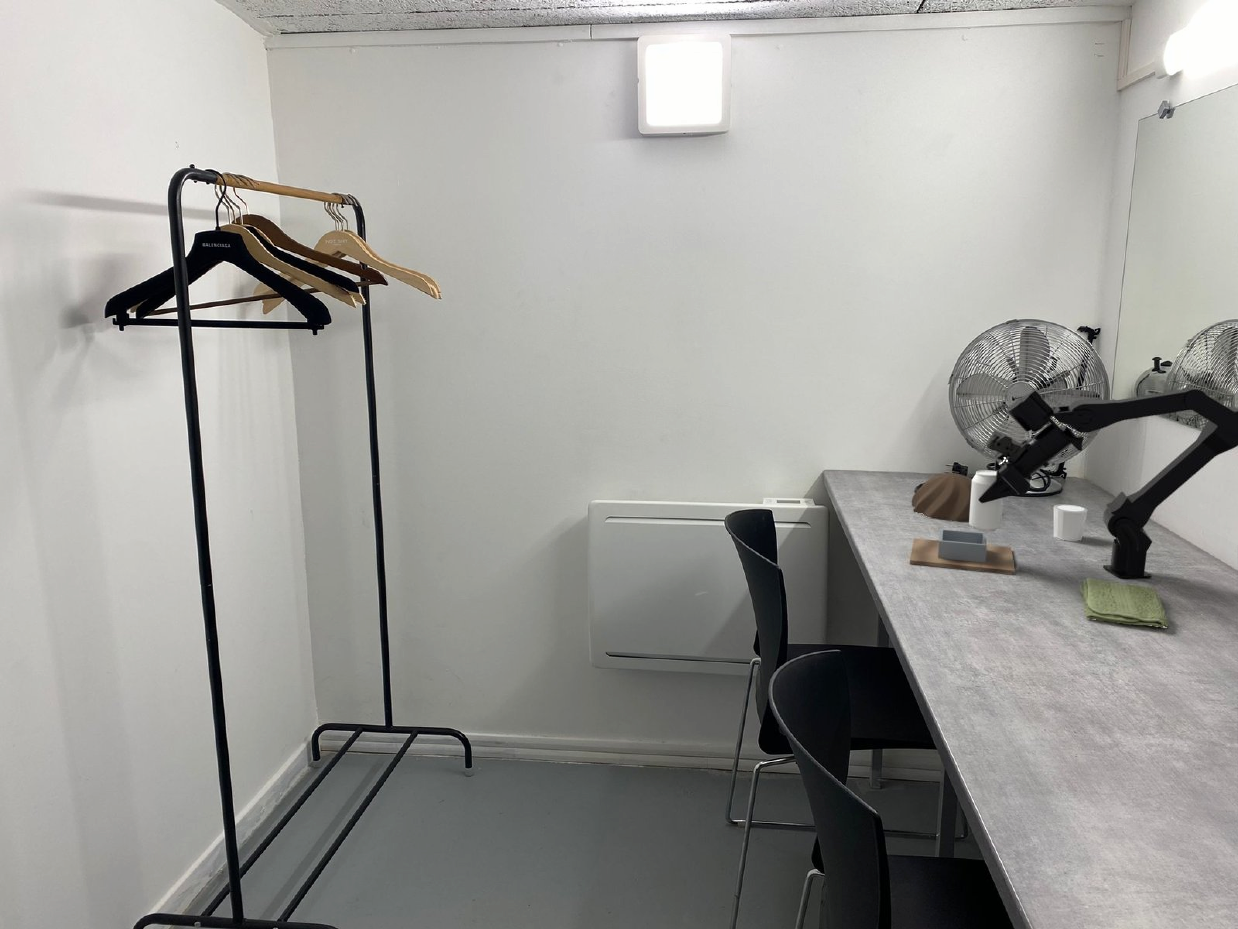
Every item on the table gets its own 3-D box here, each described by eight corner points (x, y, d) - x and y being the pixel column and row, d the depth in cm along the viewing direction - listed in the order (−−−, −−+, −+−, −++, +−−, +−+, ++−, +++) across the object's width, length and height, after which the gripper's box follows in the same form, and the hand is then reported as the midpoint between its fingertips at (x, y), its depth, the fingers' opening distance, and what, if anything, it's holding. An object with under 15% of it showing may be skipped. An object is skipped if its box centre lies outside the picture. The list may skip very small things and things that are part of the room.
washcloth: (1083, 623, 155) (1085, 606, 154) (1078, 590, 170) (1080, 574, 170) (1170, 635, 149) (1173, 617, 149) (1157, 600, 165) (1159, 583, 164)
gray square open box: (984, 553, 191) (985, 532, 190) (985, 566, 183) (986, 545, 182) (938, 548, 195) (940, 528, 194) (937, 561, 186) (939, 540, 185)
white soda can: (992, 524, 189) (996, 469, 186) (1006, 532, 183) (1010, 475, 180) (963, 524, 189) (967, 469, 186) (976, 533, 183) (980, 476, 180)
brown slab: (1010, 550, 193) (1011, 547, 192) (1014, 574, 178) (1014, 570, 178) (913, 541, 200) (914, 538, 199) (909, 563, 185) (909, 560, 185)
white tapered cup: (1077, 533, 204) (1080, 504, 203) (1089, 542, 198) (1093, 512, 196) (1046, 532, 205) (1049, 503, 204) (1057, 541, 198) (1060, 511, 197)
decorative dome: (910, 519, 218) (912, 479, 216) (912, 499, 236) (914, 462, 234) (995, 525, 212) (998, 485, 210) (990, 504, 230) (993, 467, 228)
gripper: (1011, 412, 188) (952, 460, 194) (1015, 427, 171) (951, 479, 177) (1049, 450, 187) (989, 497, 193) (1057, 469, 170) (991, 520, 176)
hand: (979, 497), depth 185 cm, fingers closed on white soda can, 6 cm apart
